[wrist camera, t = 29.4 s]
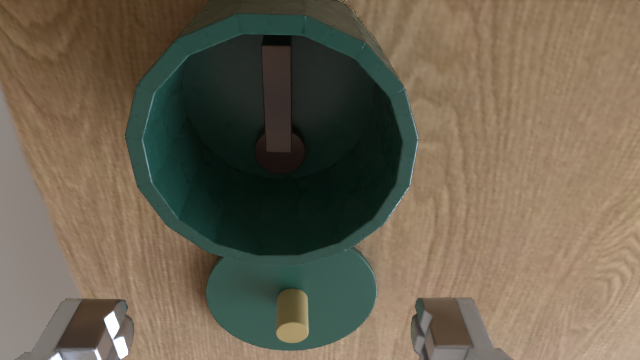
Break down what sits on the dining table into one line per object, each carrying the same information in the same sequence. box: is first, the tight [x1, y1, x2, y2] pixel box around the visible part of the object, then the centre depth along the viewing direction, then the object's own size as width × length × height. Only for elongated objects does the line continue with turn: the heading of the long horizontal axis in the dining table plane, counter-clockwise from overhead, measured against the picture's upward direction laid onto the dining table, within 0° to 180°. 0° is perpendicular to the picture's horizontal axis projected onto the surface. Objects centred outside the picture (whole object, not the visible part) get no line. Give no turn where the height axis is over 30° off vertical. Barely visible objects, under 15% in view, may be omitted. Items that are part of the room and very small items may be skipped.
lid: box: [206, 247, 377, 351], centre depth 35 cm, size 15×15×5 cm
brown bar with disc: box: [254, 35, 306, 174], centre depth 26 cm, size 9×3×3 cm, turn 178°
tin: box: [125, 0, 419, 266], centre depth 24 cm, size 14×14×8 cm
